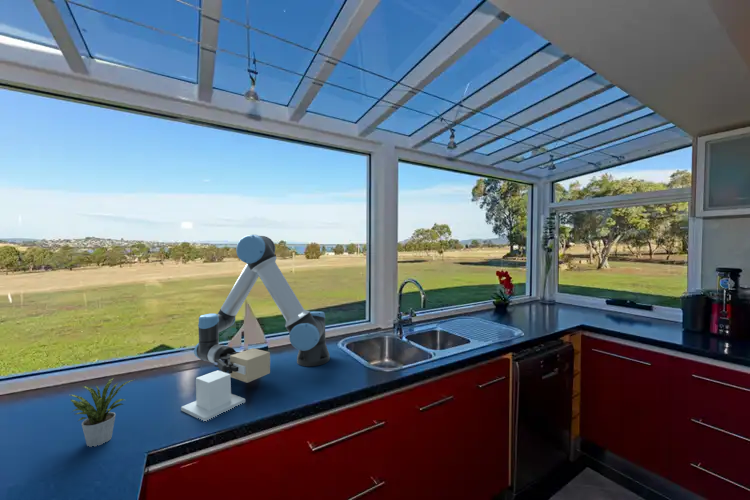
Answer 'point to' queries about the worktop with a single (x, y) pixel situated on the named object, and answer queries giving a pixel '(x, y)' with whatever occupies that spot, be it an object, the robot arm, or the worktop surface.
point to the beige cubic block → (251, 364)
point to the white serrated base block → (212, 396)
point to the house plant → (98, 415)
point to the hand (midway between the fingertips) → (257, 365)
